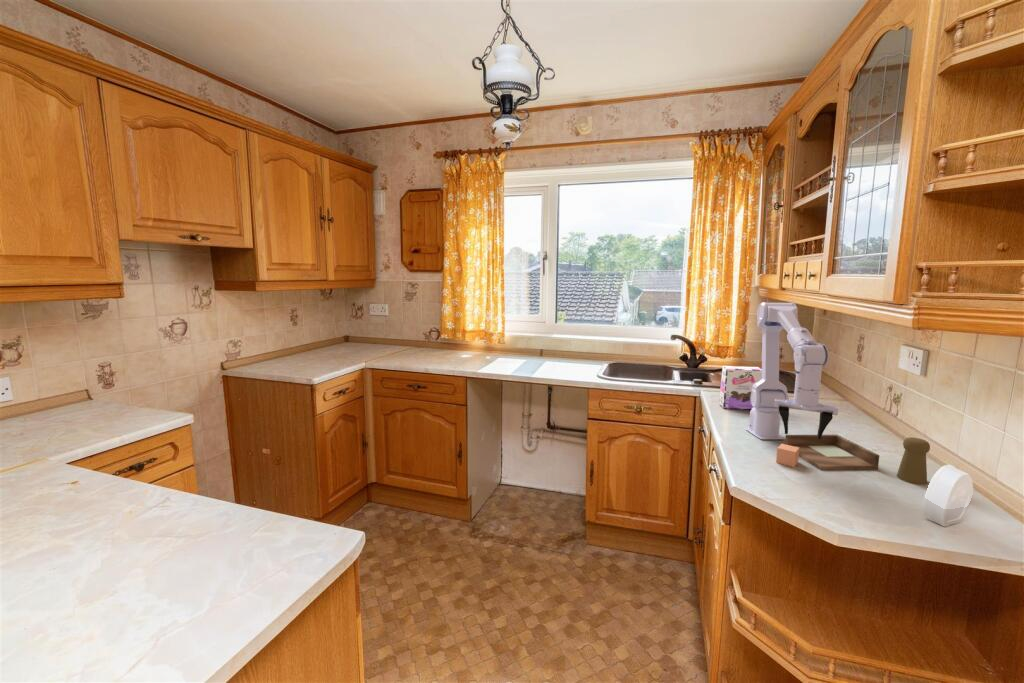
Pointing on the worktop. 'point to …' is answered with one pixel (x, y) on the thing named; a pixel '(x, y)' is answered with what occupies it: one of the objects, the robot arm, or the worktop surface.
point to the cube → (787, 455)
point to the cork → (914, 461)
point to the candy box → (738, 386)
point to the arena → (833, 452)
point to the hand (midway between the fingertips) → (802, 435)
